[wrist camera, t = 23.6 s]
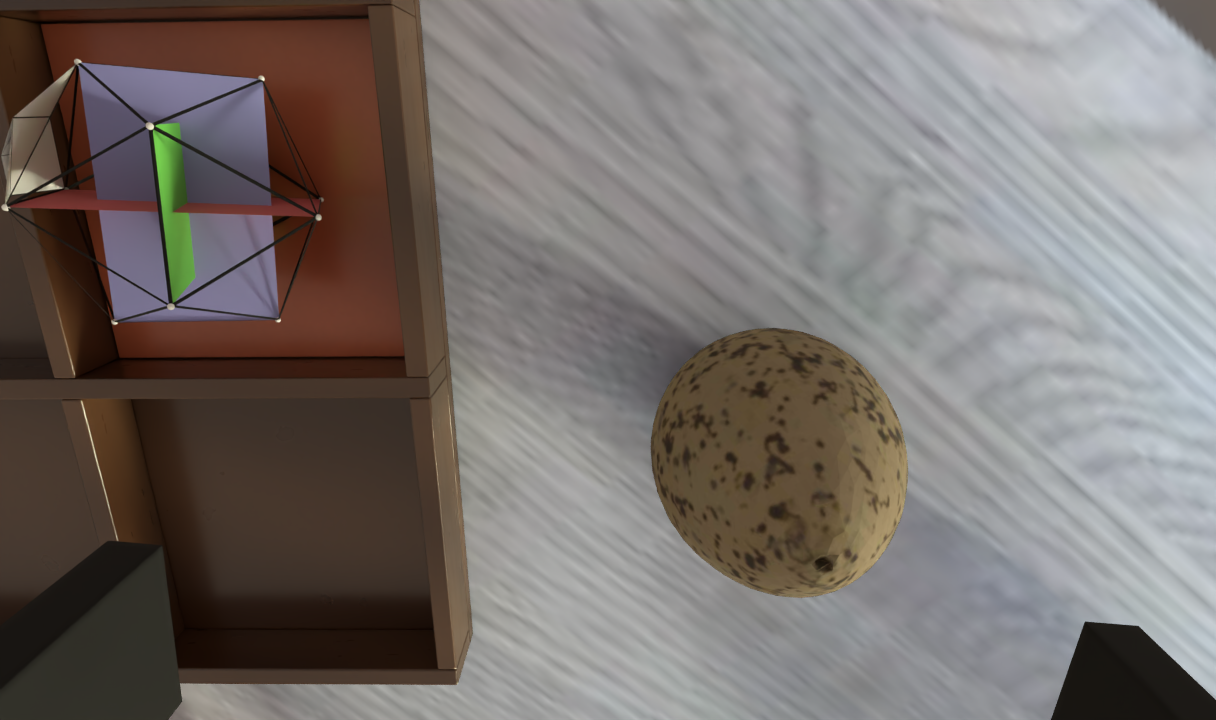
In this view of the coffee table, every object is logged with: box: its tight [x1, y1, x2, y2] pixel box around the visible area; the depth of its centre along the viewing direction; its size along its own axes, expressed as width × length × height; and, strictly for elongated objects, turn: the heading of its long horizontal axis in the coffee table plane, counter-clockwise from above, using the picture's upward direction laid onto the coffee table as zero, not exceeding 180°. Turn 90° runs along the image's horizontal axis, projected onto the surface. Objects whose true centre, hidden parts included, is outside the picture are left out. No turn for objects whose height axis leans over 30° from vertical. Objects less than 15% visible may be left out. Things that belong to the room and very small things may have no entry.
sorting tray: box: [0, 0, 473, 685], centre depth 24 cm, size 23×23×3 cm
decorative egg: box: [651, 328, 908, 598], centre depth 20 cm, size 7×7×10 cm
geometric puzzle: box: [1, 59, 324, 325], centre depth 19 cm, size 7×7×8 cm
